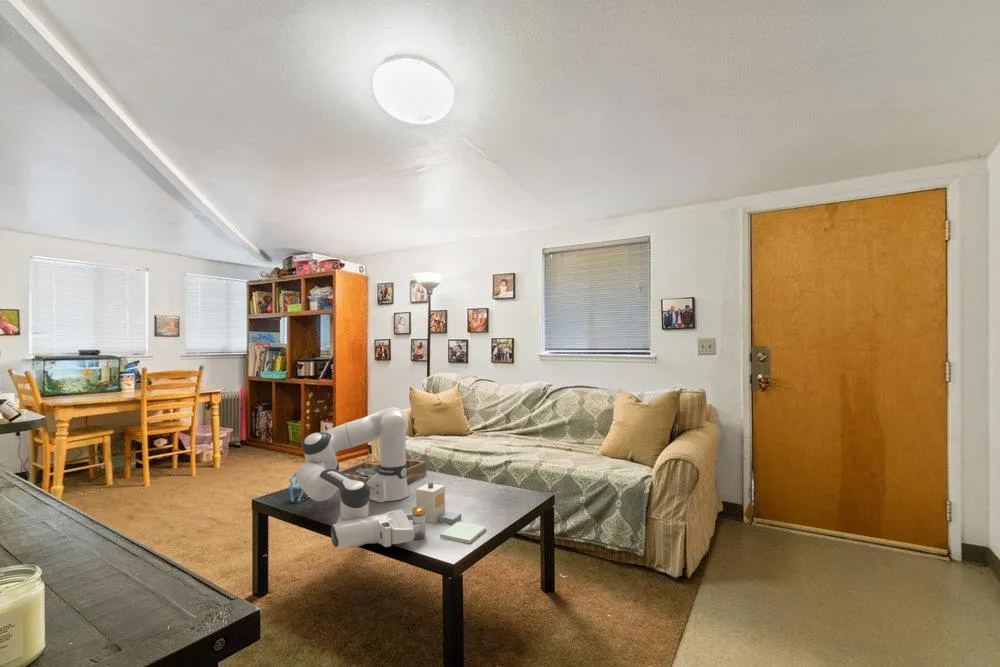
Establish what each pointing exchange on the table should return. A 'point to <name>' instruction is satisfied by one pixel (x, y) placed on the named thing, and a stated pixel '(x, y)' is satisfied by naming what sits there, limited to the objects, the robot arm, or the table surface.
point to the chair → (294, 487)
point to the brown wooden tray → (352, 472)
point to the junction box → (431, 501)
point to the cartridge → (419, 521)
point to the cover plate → (450, 518)
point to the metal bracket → (366, 472)
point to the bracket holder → (415, 470)
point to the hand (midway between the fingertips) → (421, 521)
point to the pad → (463, 532)
